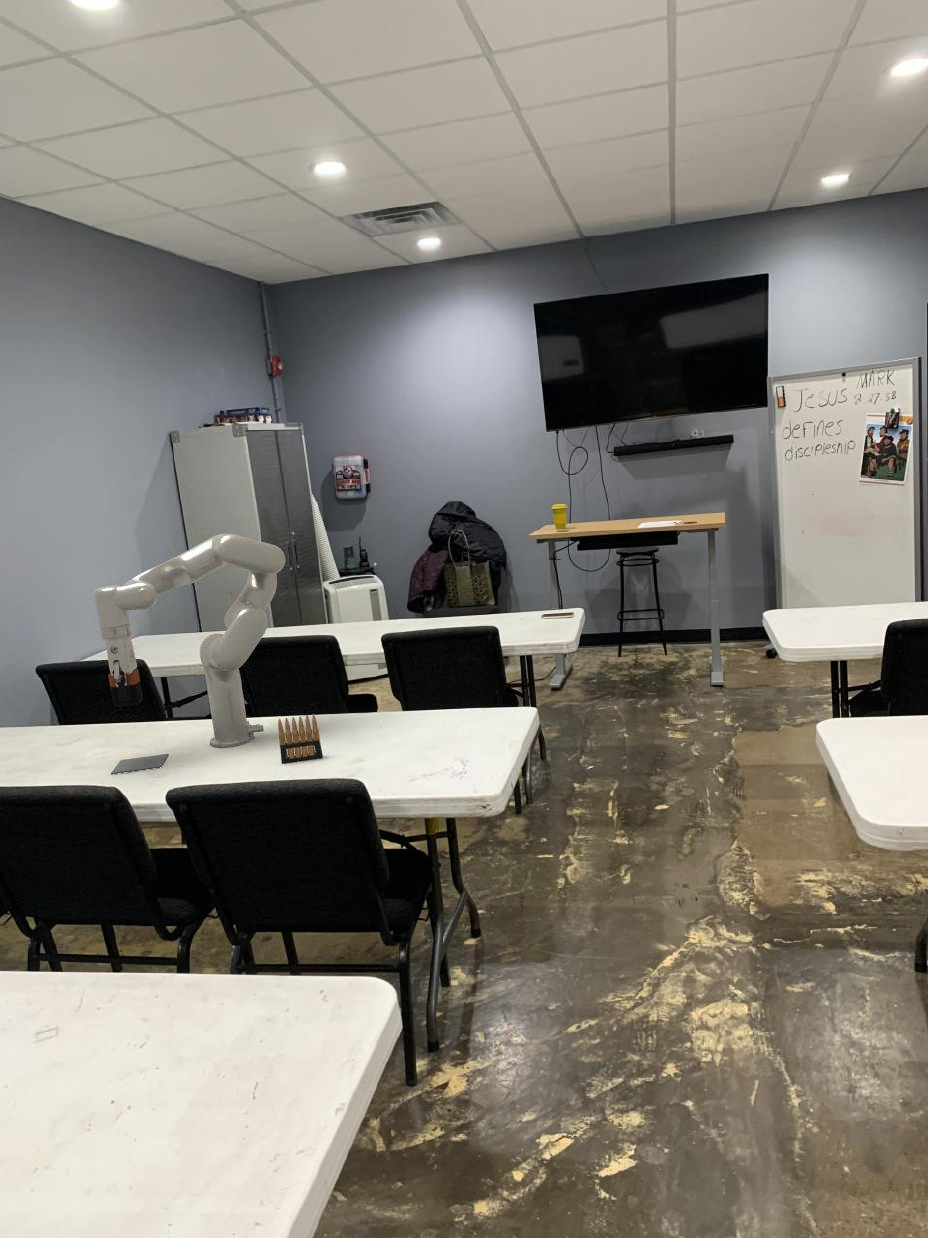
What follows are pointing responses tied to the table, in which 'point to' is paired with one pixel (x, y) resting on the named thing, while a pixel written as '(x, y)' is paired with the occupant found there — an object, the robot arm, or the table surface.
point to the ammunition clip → (299, 741)
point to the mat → (140, 763)
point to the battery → (134, 688)
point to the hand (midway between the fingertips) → (127, 697)
